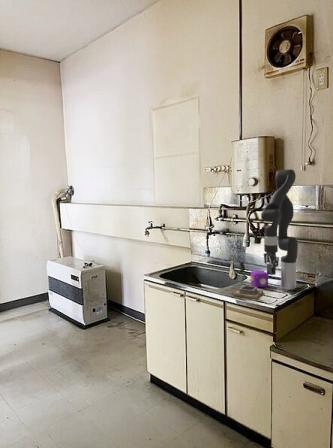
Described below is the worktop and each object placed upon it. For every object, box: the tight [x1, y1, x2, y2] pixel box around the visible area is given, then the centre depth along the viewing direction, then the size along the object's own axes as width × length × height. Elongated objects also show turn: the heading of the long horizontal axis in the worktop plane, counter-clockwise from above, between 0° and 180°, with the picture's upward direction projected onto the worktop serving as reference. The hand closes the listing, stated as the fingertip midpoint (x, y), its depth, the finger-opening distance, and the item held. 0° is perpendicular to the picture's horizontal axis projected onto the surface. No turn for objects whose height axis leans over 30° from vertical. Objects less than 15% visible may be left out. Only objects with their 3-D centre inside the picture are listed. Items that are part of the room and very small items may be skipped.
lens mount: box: [232, 284, 264, 300], centre depth 211 cm, size 14×14×4 cm
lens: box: [266, 261, 277, 276], centre depth 202 cm, size 5×5×7 cm
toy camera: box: [250, 269, 269, 288], centre depth 227 cm, size 11×14×10 cm
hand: (271, 272), depth 202 cm, fingers closed on lens, 5 cm apart
